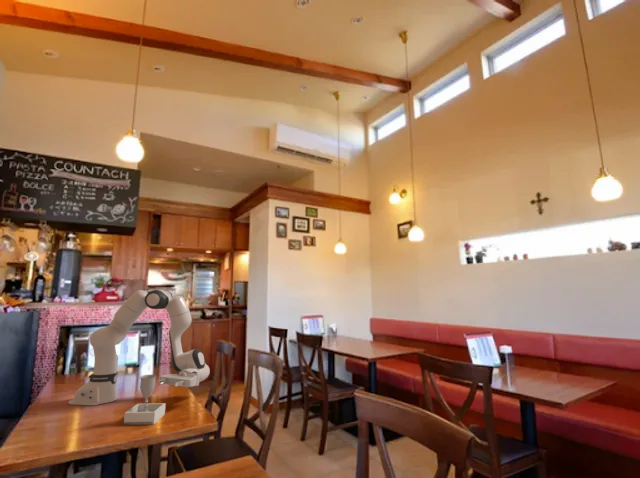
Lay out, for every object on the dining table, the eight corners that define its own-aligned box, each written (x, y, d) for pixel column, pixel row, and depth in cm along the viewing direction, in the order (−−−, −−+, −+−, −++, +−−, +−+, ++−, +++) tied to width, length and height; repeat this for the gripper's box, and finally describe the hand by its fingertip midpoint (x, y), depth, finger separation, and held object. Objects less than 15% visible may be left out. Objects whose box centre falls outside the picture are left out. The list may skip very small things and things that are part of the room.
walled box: (123, 424, 153) (124, 412, 154) (137, 414, 166) (138, 403, 167) (153, 424, 154) (154, 412, 155) (164, 414, 167) (165, 403, 167)
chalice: (136, 420, 155) (139, 378, 158) (136, 415, 161) (139, 375, 164) (154, 417, 159) (157, 376, 162) (153, 413, 165) (156, 373, 168)
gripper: (171, 369, 190) (151, 375, 177) (201, 373, 183) (183, 379, 170) (170, 381, 189) (150, 388, 176) (201, 385, 182) (182, 392, 169)
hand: (166, 383), depth 173 cm, fingers open, 8 cm apart
